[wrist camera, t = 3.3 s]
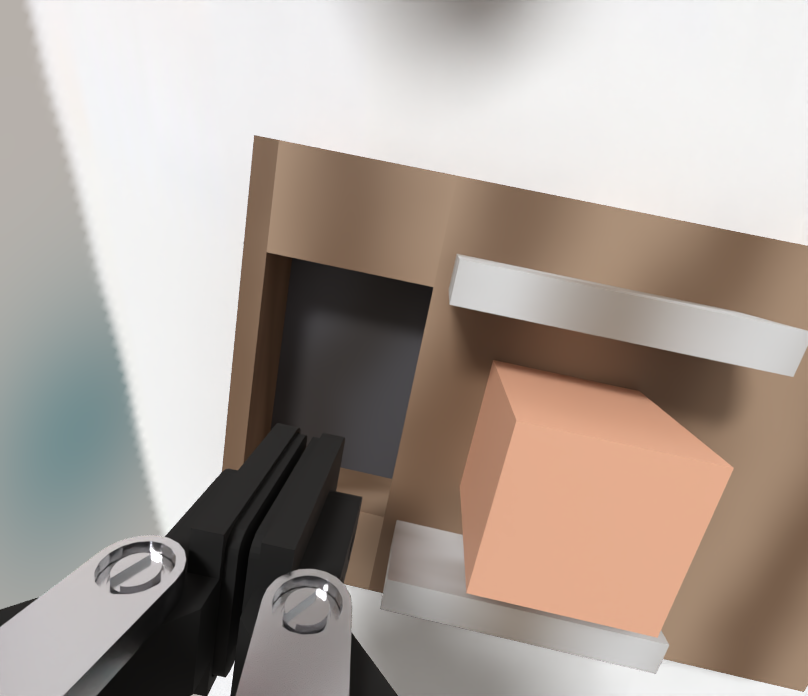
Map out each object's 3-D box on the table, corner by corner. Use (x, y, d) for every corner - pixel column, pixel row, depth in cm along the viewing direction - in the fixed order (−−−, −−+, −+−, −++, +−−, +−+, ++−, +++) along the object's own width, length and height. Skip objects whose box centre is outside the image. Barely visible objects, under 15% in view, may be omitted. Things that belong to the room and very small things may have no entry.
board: (931, 281, 16) (1209, 309, 10) (752, 625, 20) (876, 784, 14) (286, 152, 17) (204, 109, 11) (245, 509, 21) (170, 614, 15)
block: (639, 391, 15) (733, 468, 10) (593, 516, 16) (657, 638, 11) (493, 360, 15) (516, 420, 10) (459, 486, 16) (466, 593, 11)
